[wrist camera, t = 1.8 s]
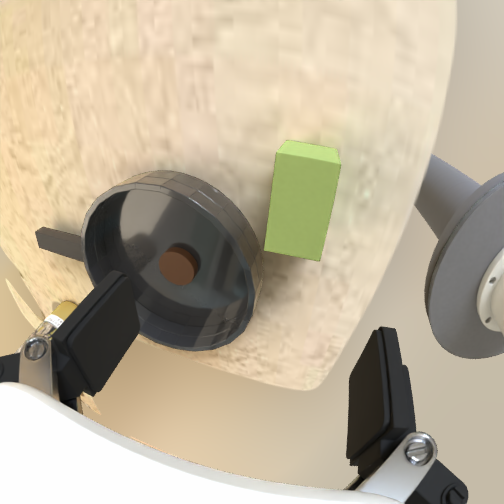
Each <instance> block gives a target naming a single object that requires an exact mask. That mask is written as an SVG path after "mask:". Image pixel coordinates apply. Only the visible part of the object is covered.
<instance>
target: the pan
mask: <svg viewBox="0 0 504 504" xmlns="http://www.w3.org/2000/svg"><path fill="white" fill-rule="evenodd" d="M172 247H179V248H182V249H185V250H186V251H188V252H189V253H190V254H191V255H192V256H193V257H194V259H195V260H196V262H197V266H198V271H197V274H196V276H195V277H194V279H193V280H192V281H191V282H190V283H189V284H187V285H176V284H174V283H172V282H170V281H168V280H167V279H166V278H165V277H164V276H163V274H162V273H161V271H160V268H159V259H160V257H161V256H162V254H163V253H164V252H165V251H166V250H167V249H169V248H172ZM81 250H82V255H83V260H84V264H85V268H86V271H87V273H88V275H89V277H90V279H91V282H92V284H93V286H94V288H95V287H96V286H97V285H98V284H99V283H100V282H101V281H102V280H103V279H104V278H105V277H106V276H107V275H108V274H109V273H110V272H111V271H113V270H115V271H119V272H122V273H126V274H127V276H128V278H129V279H130V280H131V285H132V290H133V295H134V300H135V304H136V309H137V313H138V318H139V322H140V331H139V334H141V335H143V336H144V337H146V338H148V339H150V340H152V341H154V342H156V343H159V344H162V345H165V346H168V347H171V348H174V349H180V350H187V351H204V350H213V349H216V348H219V347H221V346H224V345H227V344H229V343H231V342H232V341H233V340H234V339H236V338H237V337H238V336H239V335H240V334H242V333H243V332H244V330H245V328H246V327H247V325H248V323H249V321H250V319H251V317H252V316H253V313H254V310H255V307H256V304H257V301H258V298H259V295H260V292H261V285H262V281H263V259H262V254H261V250H260V246H259V243H258V241H257V238H256V236H255V233H254V231H253V230H252V228H251V226H250V224H249V222H248V221H247V219H246V218H245V217H244V215H243V214H242V213H241V211H240V210H239V209H238V208H237V207H236V206H235V205H234V204H233V202H232V201H231V200H230V199H228V198H227V197H226V196H225V195H224V194H222V193H221V192H220V191H219V190H217V189H216V188H214V187H213V186H211V185H210V184H208V183H206V182H204V181H202V180H200V179H198V178H196V177H193V176H190V175H187V174H184V173H180V172H174V171H159V170H158V171H150V172H145V173H142V174H139V175H135V176H133V177H131V178H129V179H127V180H125V181H123V182H122V183H120V184H118V185H116V186H114V187H112V188H111V189H109V190H108V191H106V192H105V193H103V194H102V195H100V196H99V197H98V198H97V199H96V200H95V201H94V203H93V204H92V206H91V207H90V209H89V210H88V212H87V213H86V216H85V219H84V223H83V227H82V230H81Z"/></svg>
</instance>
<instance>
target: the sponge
mask: <svg viewBox="0 0 504 504" xmlns="http://www.w3.org/2000/svg"><path fill="white" fill-rule="evenodd" d="M340 168H341V162H340V158H339V155H338V152H337V149H334V148H329V147H324V146H318V145H313V144H307V143H302V142H296V141H289V140H286V142H285V143H284V144H283V145H282V146H281V147H280V148H279V150H278V151H277V152H276V158H275V166H274V174H273V182H272V190H271V198H270V206H269V214H268V222H267V230H266V238H265V245H264V251H269V252H274V253H279V254H284V255H289V256H294V257H299V258H304V259H309V260H314V261H320V259H321V255H322V251H323V247H324V242H325V238H326V234H327V230H328V225H329V221H330V217H331V212H332V207H333V203H334V198H335V193H336V188H337V184H338V179H339V173H340Z"/></svg>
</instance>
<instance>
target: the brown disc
mask: <svg viewBox="0 0 504 504" xmlns="http://www.w3.org/2000/svg"><path fill="white" fill-rule="evenodd" d="M159 268H160V271H161V273H162V274H163V276H164V277H165V278H166V279H167V280H168V281H170V282H172V283H174V284H176V285H187V284H189V283H190V282H191V281H192V280H193V279H194V277H195V276H196V274H197V271H198V266H197V262H196V260H195V259H194V257H193V256H192V255H191V254H190V253H189V252H188V251H186V250H185V249H182V248H179V247H172V248H169V249H167V250H166V251H165V252H164V253H163V254H162V256H161V257H160V259H159Z"/></svg>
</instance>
